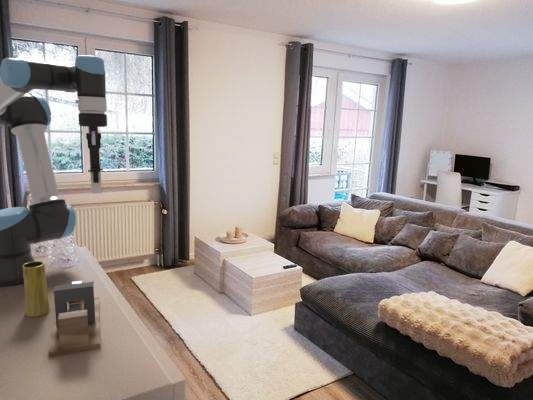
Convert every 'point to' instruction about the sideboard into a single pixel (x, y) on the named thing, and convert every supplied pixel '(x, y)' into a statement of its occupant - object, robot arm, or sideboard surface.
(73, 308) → the light grey bar
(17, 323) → the sideboard surface
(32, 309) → the vase
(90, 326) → the wooden stand
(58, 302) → the collar
